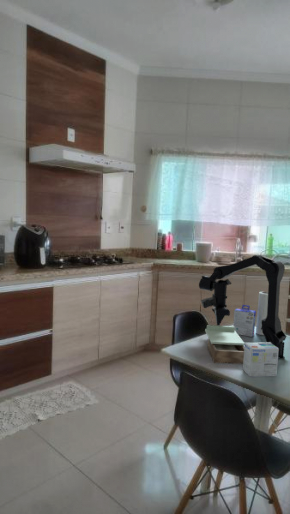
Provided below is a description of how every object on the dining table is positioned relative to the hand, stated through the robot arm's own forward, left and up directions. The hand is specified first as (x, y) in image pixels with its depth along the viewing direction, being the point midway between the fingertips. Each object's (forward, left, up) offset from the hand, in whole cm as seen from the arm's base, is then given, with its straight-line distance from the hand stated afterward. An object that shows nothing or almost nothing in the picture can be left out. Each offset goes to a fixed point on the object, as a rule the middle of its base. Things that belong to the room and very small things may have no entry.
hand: (218, 325), depth 163 cm
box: (0, +21, -7) cm, 22 cm away
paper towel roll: (-25, -10, -7) cm, 28 cm away
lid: (0, +14, -1) cm, 14 cm away
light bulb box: (-9, +36, -7) cm, 38 cm away
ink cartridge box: (-15, -9, -7) cm, 19 cm away
